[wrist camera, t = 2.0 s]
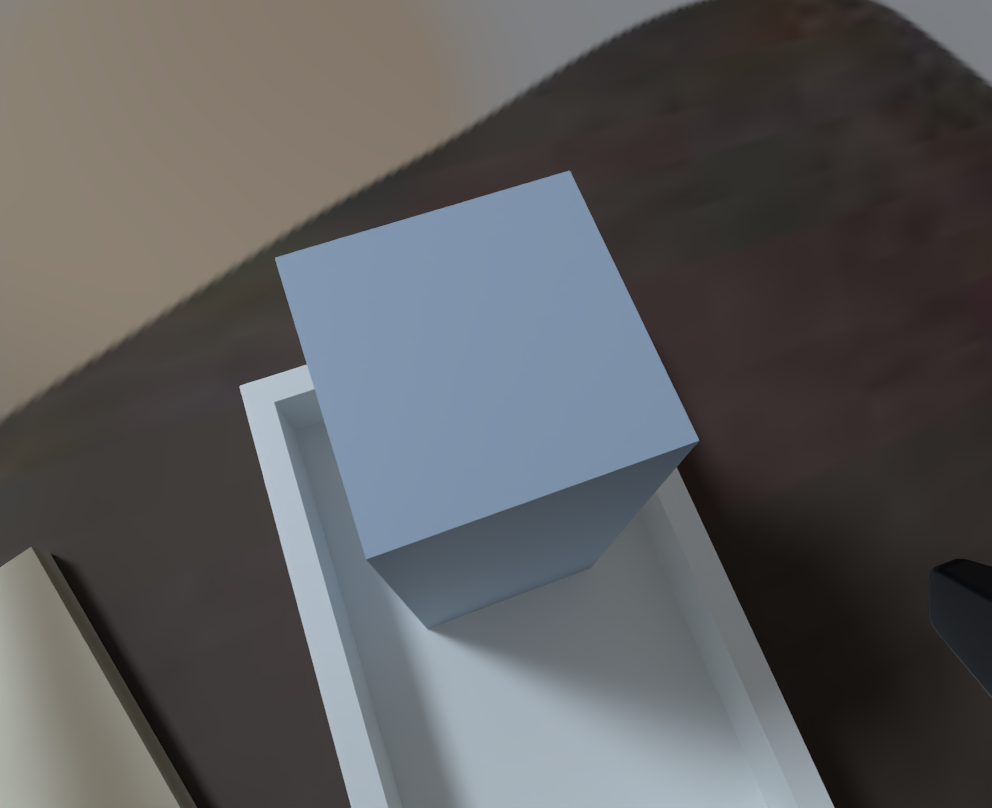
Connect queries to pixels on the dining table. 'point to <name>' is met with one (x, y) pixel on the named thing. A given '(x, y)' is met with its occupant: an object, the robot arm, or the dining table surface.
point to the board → (69, 706)
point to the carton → (485, 394)
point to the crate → (531, 661)
